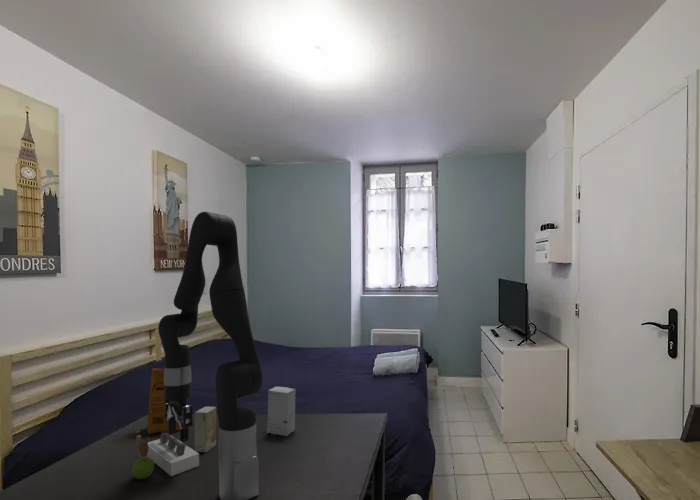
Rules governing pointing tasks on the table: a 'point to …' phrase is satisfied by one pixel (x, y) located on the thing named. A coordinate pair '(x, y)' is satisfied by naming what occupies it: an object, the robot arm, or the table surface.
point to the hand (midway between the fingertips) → (178, 437)
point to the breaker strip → (172, 457)
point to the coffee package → (157, 404)
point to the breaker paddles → (172, 443)
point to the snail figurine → (142, 460)
